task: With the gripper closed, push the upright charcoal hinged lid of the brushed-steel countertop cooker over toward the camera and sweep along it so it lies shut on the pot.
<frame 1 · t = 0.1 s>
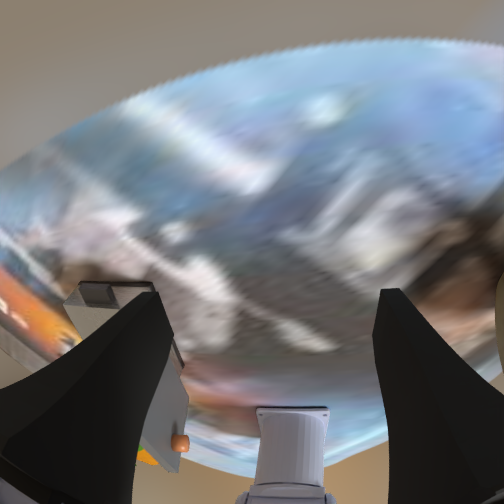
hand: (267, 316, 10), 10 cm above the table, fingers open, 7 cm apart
cooker: (133, 326, 26), on the table
lid: (162, 398, 20), point 7 cm above the table, hinge at 97.0°
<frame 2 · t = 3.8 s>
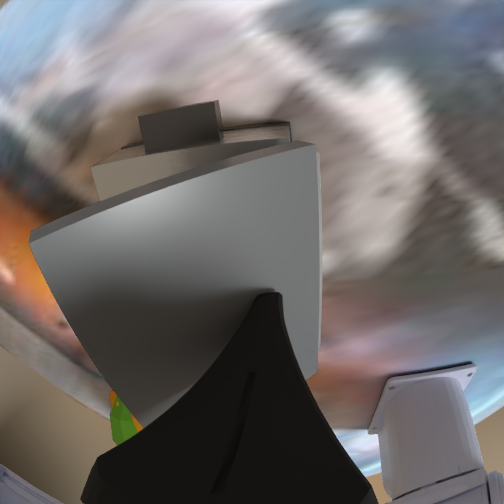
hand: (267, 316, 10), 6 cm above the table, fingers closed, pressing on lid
cooker: (219, 234, 15), on the table
corn: (189, 416, 26), on the table
lid: (237, 330, 9), point 6 cm above the table, hinge at 40.1°, touching gripper
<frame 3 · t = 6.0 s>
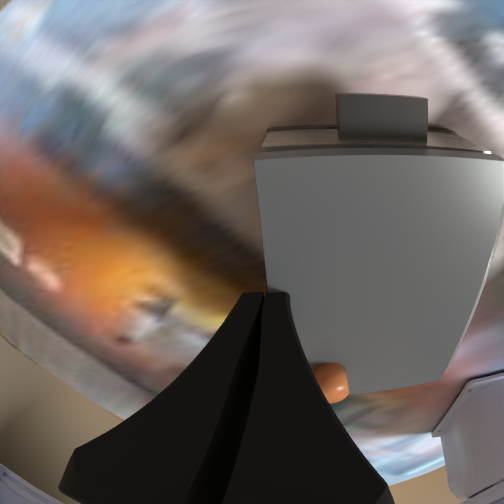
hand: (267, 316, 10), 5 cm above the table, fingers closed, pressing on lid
cooker: (363, 241, 13), on the table
lid: (396, 305, 9), point 4 cm above the table, hinge at 3.1°, touching gripper
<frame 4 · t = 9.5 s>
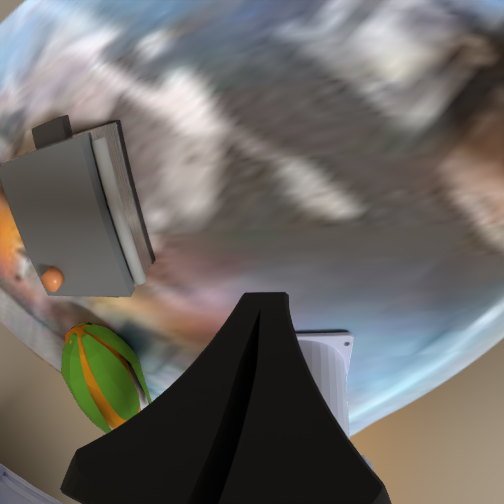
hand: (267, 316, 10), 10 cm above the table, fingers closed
cooker: (93, 200, 20), on the table
corn: (126, 369, 31), on the table
lid: (63, 228, 16), point 4 cm above the table, hinge at 3.0°
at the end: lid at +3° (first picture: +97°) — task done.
